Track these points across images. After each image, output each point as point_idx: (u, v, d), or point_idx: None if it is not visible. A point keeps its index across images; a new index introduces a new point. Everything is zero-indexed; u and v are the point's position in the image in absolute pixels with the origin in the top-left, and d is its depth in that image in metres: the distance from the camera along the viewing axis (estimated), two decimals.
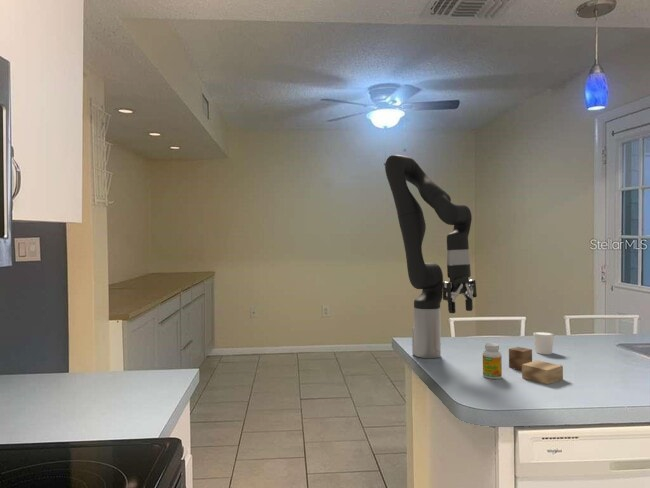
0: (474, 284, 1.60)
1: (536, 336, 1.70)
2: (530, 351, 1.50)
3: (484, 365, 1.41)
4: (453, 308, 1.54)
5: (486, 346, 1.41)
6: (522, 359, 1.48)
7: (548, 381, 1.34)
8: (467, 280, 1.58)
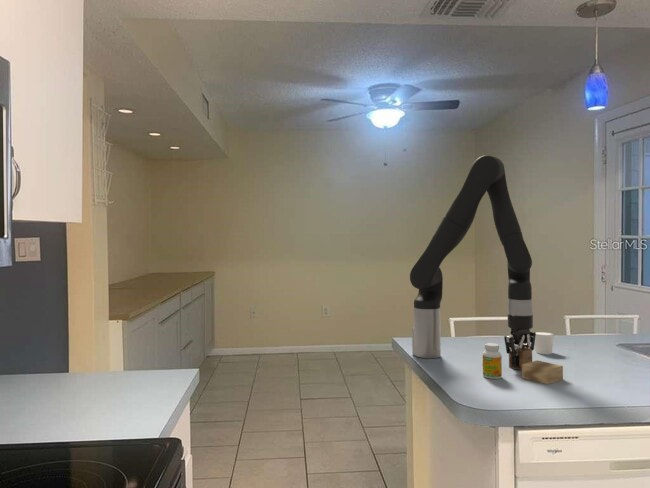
0: (534, 337, 1.54)
1: (536, 336, 1.70)
2: (530, 351, 1.50)
3: (484, 365, 1.41)
4: (516, 363, 1.49)
5: (486, 346, 1.41)
6: (522, 359, 1.48)
7: (548, 381, 1.34)
8: (528, 330, 1.52)
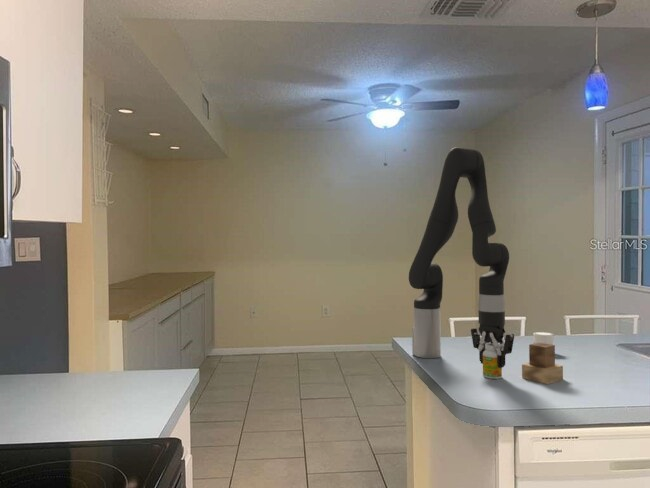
0: (506, 339, 1.36)
1: (536, 336, 1.70)
2: (553, 347, 1.38)
3: (484, 365, 1.41)
4: (481, 358, 1.44)
5: (486, 346, 1.41)
6: (544, 356, 1.36)
7: (548, 381, 1.34)
8: (498, 330, 1.38)
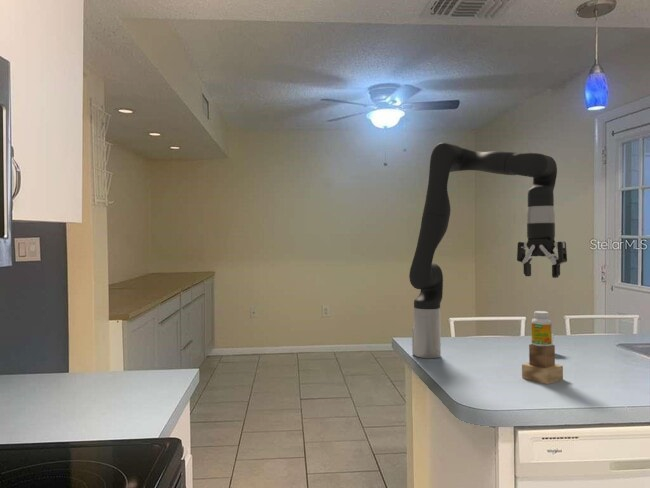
0: (559, 247, 1.33)
1: None
2: (553, 347, 1.38)
3: (533, 333, 1.38)
4: None
5: (535, 313, 1.38)
6: (544, 356, 1.36)
7: (548, 381, 1.34)
8: (548, 241, 1.36)
